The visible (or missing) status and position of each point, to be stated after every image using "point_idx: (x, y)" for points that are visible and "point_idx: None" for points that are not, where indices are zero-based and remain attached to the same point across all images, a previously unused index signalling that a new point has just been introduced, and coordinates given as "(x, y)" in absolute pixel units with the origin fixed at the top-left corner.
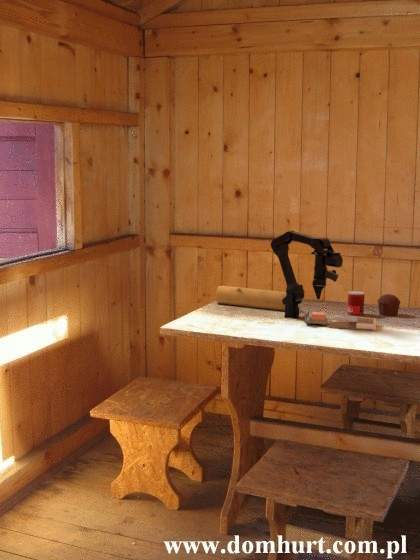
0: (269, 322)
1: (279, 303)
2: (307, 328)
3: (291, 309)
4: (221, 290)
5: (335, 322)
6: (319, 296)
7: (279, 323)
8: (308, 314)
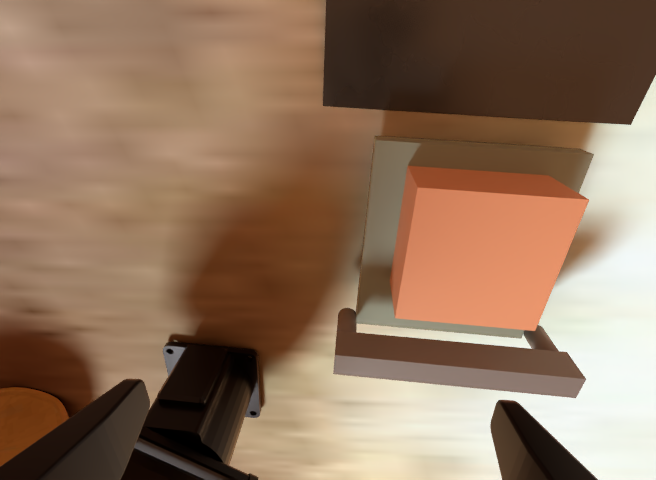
0: (428, 470)
1: None
2: (625, 295)
3: (237, 431)
4: None
5: (365, 45)
6: (566, 466)
7: (450, 434)
8: (353, 324)
